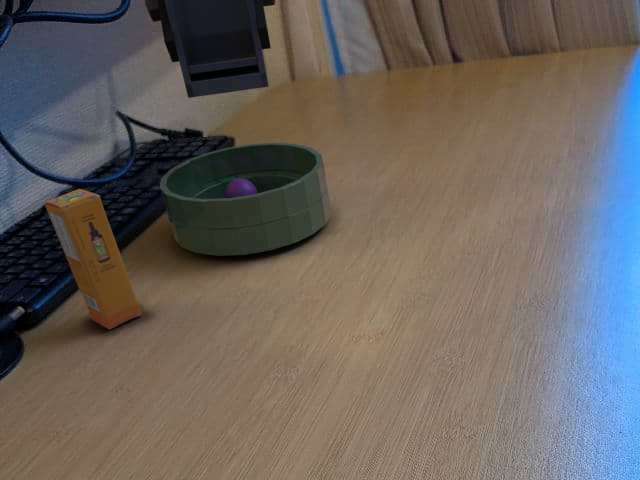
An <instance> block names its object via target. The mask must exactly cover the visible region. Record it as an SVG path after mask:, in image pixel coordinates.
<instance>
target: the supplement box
mask: <svg viewBox="0 0 640 480" xmlns="http://www.w3.org/2000/svg"><path fill="white" fill-rule="evenodd" d="M44 206H45V208H46V212H47V214H48V216H49V219H50V221H51V223H52V226H53V228H54V230H55V233H56V236H57V238H58V241H59V243H60V245H61V248H62V250H63V252H64V255H65V257H66V260H67V262H68V265H69V268H70V270H71V272H72V275H73V277H74V279H75V282H76V284H77V287H78V289H79V292H80V295H81V297H82V299H83V301H84V303H85V305H86V308H87V311H88V313H89V315H90V318H91V320H92V321H93V322H95V323H97V324H98V325H101V326H102V327H103V328H106V329H108V330H112V329H114V328H116V327H118V326H120V325H122V324H123V323H126V322H128V321H130V320H133V319H135V318H138V317H140V316H142V310H141V308H140V306H139V303H138V299H137V297H136V294H135V292H134V288H133V286H132V283H131V280H130V277H129V275H128V271H127V269H126V267H125V263H124V261H123V258H122V255H121V253H120V249H119V247H118V244H117V241H116V238H115V236H114V232H113V230H112V227H111V225H110V222H109V220H108V216H107V214H106V211H105V207H104V205H103V203H102V199H101V196H100V194H97V193H94V192H91V191H88V190H85V189H82V188H78V189H75V190H72V191H70V192H67V193H65V194H62V195H59V196H57V197H54V198H51V199H49V200H46V201H44Z"/></svg>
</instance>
